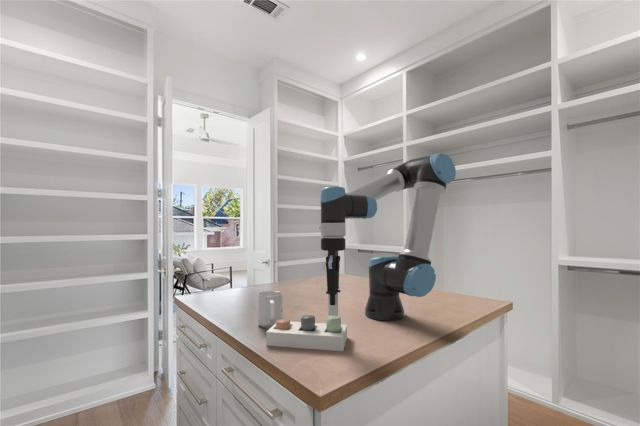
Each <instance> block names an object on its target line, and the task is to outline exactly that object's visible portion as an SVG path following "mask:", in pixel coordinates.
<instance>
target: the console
mask: <svg viewBox="0 0 640 426" xmlns="http://www.w3.org/2000/svg"><path fill="white" fill-rule="evenodd" d="M265 335H266V336H265V338H266V339H265V340H266V342H265V343H266V344H265V346H268V347H277V348H278V347H280V348H293V349H294V348H295V349H306V350H307V349H308V350H321V351H333V352H334V351H335V352H344V349H345V346H346V343H347V339H348V324H344V323H341V333H329V332H326V322H315V331H314V332H313V331H301V321H291V320H290V329H289V330H281V329H276V323H275V324H274V325H273V326H272V327H271V328H268V330H266V332H265Z"/></svg>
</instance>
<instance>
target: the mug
mask: <svg viewBox="0 0 640 426" xmlns="http://www.w3.org/2000/svg"><path fill="white" fill-rule="evenodd" d="M283 297H284V294H283V292H282V291H279V290H265V291H261V292H258V294H257V324H259V326H260V327H262V328H266V329H270V328H271V327H272V326H273V325H274V324H275V323H276V321H277V320H280V319H284V317H283V311H284V310H283V303H284V300H283Z"/></svg>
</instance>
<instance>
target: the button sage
mask: <svg viewBox="0 0 640 426" xmlns="http://www.w3.org/2000/svg"><path fill="white" fill-rule="evenodd" d="M325 319H326V320H325V321H326V322H325V323H326V332H329V333H341V324H342V318H341V317H340V316H327V317H326V318H325Z"/></svg>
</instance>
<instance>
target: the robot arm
mask: <svg viewBox="0 0 640 426" xmlns="http://www.w3.org/2000/svg"><path fill="white" fill-rule="evenodd" d="M455 178H456V166H455V164H454V161H453V160H452V158H451V157H450V156H449V155H448V154H446V153H445V152H439V153H432V154H431V155H430V154H429V155H426V156H423V157H422V156H421V157H417V158H412V159H409V160H408V161H406V162H403V163H402V164H399V165H398V166H396V167H393V168H392V169H389V170H388V171H387V172H386V173H385V174H384V175H382V176H380V177H377V178H376V179H373V180H371V181H369V182H367V183H364V184H363V185H360V186H358V187H356V188H354V189H352V190H349V191H346V188H345V187H344V186H326V187H323V188H322V189H321V194H320V201H319V203H320V223H321V224H320V226H319V228H318V229H319V230H320V236H321V237H322V238H320V250H321V251H327V256H326V257H325V268H326V287H327V288H326V289H327V290H326V291H325V294H326V295H328V317H330V316H337V317H339V293H340V294H341V289H340V285H339V284H340V283H339V282H340V262H341V255H339V251H341V252H342V251H345V250H346V238H345V236H346V219H372V218H374V217H375V215H376V214H377V211H378V203H377V200H380V199H382V198H383V197H386V196H388V195H389V194H392V193H394V192H395V193H398V192H401V191H403V190H406V189H415V191H416V193H415V197H414V201H413V206H412V211H411V215H410V221H409V225H408V226H409V227H408V230H407V234H406V239H405V243H404V248H403V251H401V252H400V253H398V255H394V256H393V255H391V256H390V255H389V256H377V257H371V258H370V259H369V263H368V264H369V265H368V275H369V276H368V282H369V284H368V286H369V287H368V288H369V291H368V293H369V294H368V299H367V301H366V305H365V308H364V315H365V316H366V317H367V318H369V319H373V320H376V321H377V320H378V321H388V322H389V321H390V322H391V321H397V320H398V321H399V320H402V319H404V317H405V309H404V306H403V303H402V300H401V297H400V294H402V295H405V296H406V295H407V296H409V297H416V298H422V297H426V296H427V294H429V293H430V292H432V290H433V288H434V286H435V284H436V279H437V277H436V273H435V268H434V267H433V266H432V260H431V259H430V257H429V253H430V247H431V242H432V238H433V232H434V228H435V227H434V226H435V223H436V218H437V217H436V216H437V214H438V213H437V212H438V208H439V207H438V206H439V202H440V197H441V195H442V194H444V193H446V190H447V185H448V184H451V183H453V182H454V180H455Z"/></svg>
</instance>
